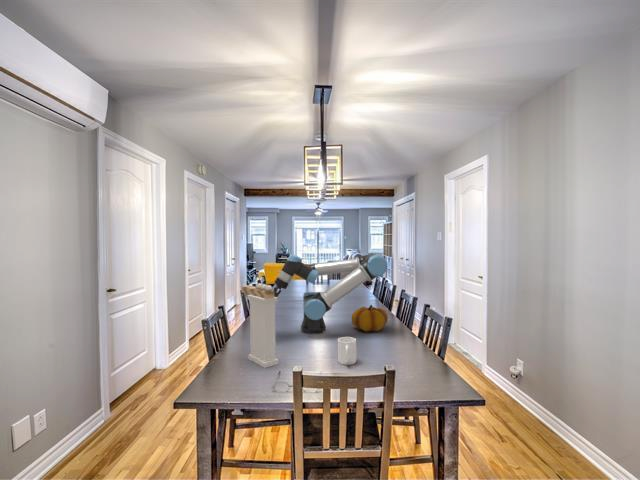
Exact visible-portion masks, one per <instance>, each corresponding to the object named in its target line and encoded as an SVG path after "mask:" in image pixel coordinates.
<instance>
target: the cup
mask: <svg viewBox="0 0 640 480" xmlns="http://www.w3.org/2000/svg"><path fill="white" fill-rule="evenodd" d="M337 362H338V363H339V364H340V365H345V366H350V365H353V364H356V362H357V339H356V338H355V337H351V336H342V337H338V338H337Z"/></svg>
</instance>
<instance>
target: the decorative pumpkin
mask: <svg viewBox="0 0 640 480" xmlns="http://www.w3.org/2000/svg"><path fill="white" fill-rule="evenodd" d="M351 323H352V324H353V326H354V327H355V328H356V329H358V330H360V331H364V332H367V333H368V332H380V330H382V329H383V328H384V327H385V326H386V324H387V323H388V314H387V312H386V311H385V309H383V308H380V307H378V308H377V307H375V306H373V305H372V304H370V305H369V307H365V306H361V307H359V308H358V309H356V310H355V311H353V313H352V314H351Z"/></svg>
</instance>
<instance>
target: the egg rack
mask: <svg viewBox="0 0 640 480" xmlns="http://www.w3.org/2000/svg"><path fill="white" fill-rule="evenodd" d="M240 292H241V293H243V294H247V295H253V296H257V297H261V298H265V299H270V298H274V291H273V286H272V285H270V284H265V283H261V282H258V283H257V284H256V285H255V286H253V285H241V286H240Z"/></svg>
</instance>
